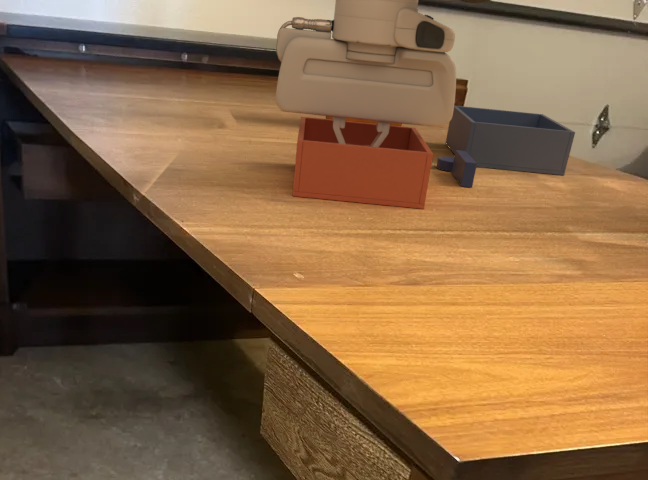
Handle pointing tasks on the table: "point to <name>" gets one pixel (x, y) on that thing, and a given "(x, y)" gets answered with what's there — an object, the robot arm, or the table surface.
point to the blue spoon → (459, 167)
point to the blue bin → (510, 139)
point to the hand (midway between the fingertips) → (356, 161)
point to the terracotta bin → (361, 164)
